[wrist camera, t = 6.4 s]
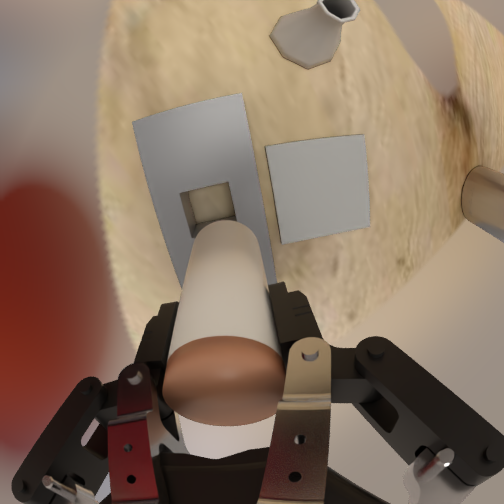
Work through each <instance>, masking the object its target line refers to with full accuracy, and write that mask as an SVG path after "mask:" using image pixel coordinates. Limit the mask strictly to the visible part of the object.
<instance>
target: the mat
mask: <svg viewBox="0 0 504 504" xmlns="http://www.w3.org/2000/svg"><path fill="white" fill-rule="evenodd" d="M265 150H266V155H267V161H268V166H269V172H270V178H271V183H272V189H273V195H274V201H275V207H276V213H277V219H278V225H279V232H280V238H281V243H282V245H283V244H288V243H293V242H298V241H303V240H307V239H312V238H317V237H322V236H327V235H332V234H337V233H342V232H347V231H352V230H357V229H362V228H367V227H370V200H369V181H368V167H367V155H366V145H365V136H364V134H359V135H346V136H336V137H326V138H317V139H309V140H302V141H295V142H288V143H281V144H275V145H269V146H265Z"/></svg>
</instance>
